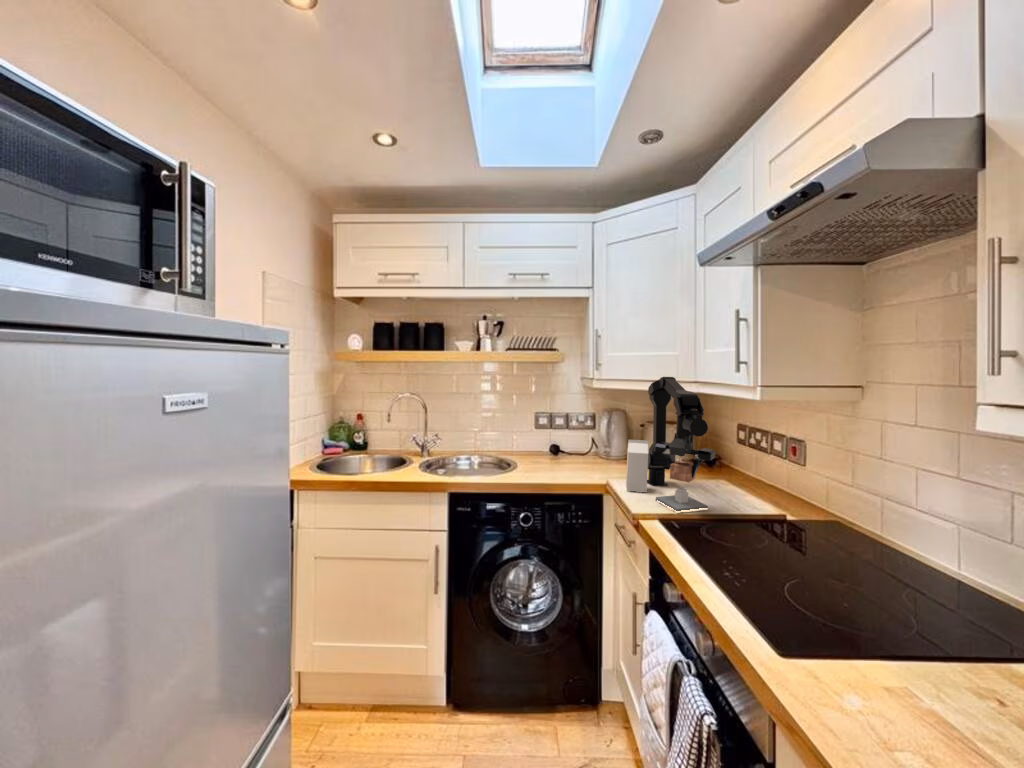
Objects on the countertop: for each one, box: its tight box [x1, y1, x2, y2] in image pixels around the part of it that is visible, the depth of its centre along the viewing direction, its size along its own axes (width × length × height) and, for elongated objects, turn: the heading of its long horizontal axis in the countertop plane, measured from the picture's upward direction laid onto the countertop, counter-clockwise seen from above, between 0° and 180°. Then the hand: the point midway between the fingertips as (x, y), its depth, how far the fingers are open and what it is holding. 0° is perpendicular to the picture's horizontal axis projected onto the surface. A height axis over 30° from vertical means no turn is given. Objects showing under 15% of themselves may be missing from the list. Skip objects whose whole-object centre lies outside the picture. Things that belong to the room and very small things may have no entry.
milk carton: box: [625, 439, 649, 493], centre depth 173 cm, size 7×7×19 cm
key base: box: [655, 487, 709, 511], centre depth 157 cm, size 12×12×6 cm
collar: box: [669, 460, 696, 483], centre depth 156 cm, size 6×6×5 cm
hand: (682, 475), depth 157 cm, fingers closed on collar, 6 cm apart
